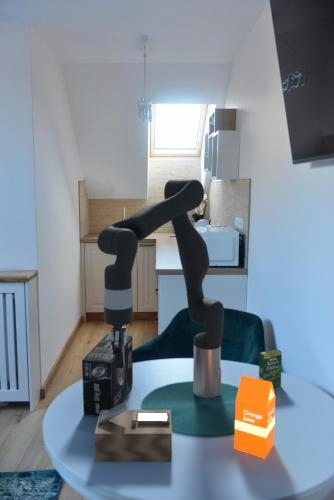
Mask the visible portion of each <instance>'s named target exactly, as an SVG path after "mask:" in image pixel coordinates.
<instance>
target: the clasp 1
mask: <svg viewBox="0 0 334 500" xmlns="http://www.w3.org/2000/svg"><path fill="white" fill-rule="evenodd" d="M128 408H129V402H128V401H127V400H125V401H123V402H122V403H121V404H119V405H117V406H115V407H114V408H112V409H110V410H108V411H106V412H104V413H102V414H101V415H100V419H99V418H98V419H99V422H98V421H97V423H98V424H99V425H102V424H103V423H105V422H106V421H108V420H110V419H112V418H114V417H116V416H117V415H119V414H121V413H123V412H125V411H127V410H128Z"/></svg>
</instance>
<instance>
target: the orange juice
mask: <svg viewBox="0 0 334 500" xmlns="http://www.w3.org/2000/svg"><path fill="white" fill-rule="evenodd" d="M275 394H276V393H275V390H274V387H273V385H272V382H269V381H264V380H260V379H259V378H255V377H251V376H248V375H242V374H241V376H240V381H239V384H238V388H237V392H236V397H235V408H234V409H235V414H234V418H235V419H234V441H233V442H234V444H233V445H234V446H233V448H234V449H235V450H237V451H240V452H244V453H246V454H248V455H249V454H250V455H253V456H255V457H258V458H262V459H266V458H267V456H268V454H269V453H270V452H271V450H272V448H273V445H274V440H275V421H276V415H275V414H276V413H275V412H276V395H275Z"/></svg>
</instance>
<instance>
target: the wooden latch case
mask: <svg viewBox="0 0 334 500" xmlns="http://www.w3.org/2000/svg"><path fill="white" fill-rule="evenodd" d="M106 411H108V410H101V411H100V415H101V414H102V413H104V412H106ZM139 413H149V414H166V413H169V415H170V424H169V425H167V424H138V414H139ZM100 415H99V416H98V419H97V423H96V427H95V430H94V460H95V461H94V462H95V463H144V462H145V463H151V462H152V463H160V462H161V463H164V462H165V463H166V462H168V463H169V462H170V463H171V462H172V460H173V458H172V457H173V455H172V454H173V451H172V449H173V447H172V446H173V445H172V443H173V441H172V439H173V438H172V437H173V432H172V429H173V427H172V409H127V411H125V412H123V413H121V414H119V415H117V416H116V417H114V418H112V419H110V420H108V421H106V422H105V423H103V424H102V425H99V424H98V422H99V419H100Z"/></svg>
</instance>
